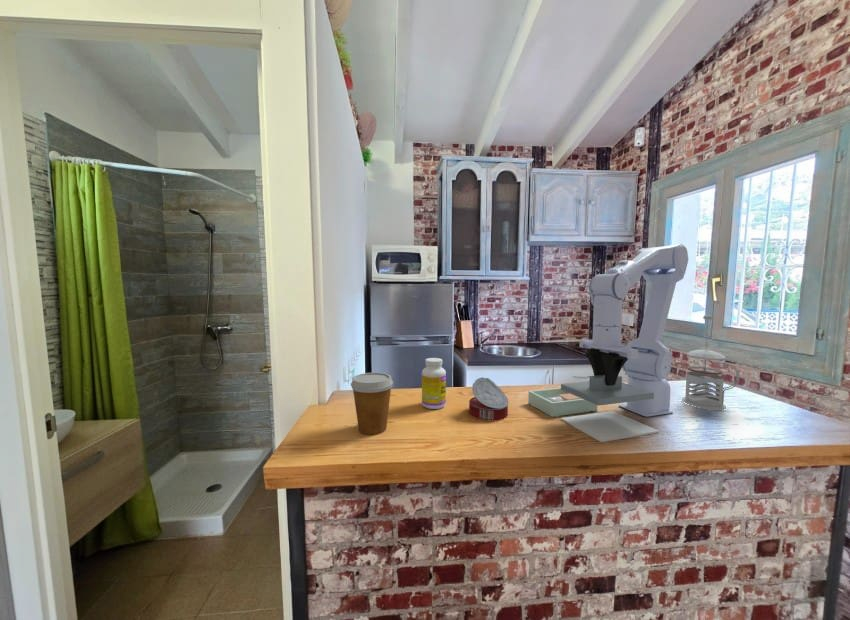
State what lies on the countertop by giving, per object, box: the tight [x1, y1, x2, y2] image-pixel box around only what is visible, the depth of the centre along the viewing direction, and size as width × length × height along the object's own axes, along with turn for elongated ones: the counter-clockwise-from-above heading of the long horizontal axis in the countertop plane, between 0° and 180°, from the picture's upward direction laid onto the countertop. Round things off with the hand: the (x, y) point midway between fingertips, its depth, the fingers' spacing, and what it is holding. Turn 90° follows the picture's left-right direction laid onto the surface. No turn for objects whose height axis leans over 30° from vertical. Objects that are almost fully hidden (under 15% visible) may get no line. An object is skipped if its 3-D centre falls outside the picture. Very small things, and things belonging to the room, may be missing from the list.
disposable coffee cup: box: [350, 372, 394, 436], centre depth 71 cm, size 10×10×12 cm
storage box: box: [527, 387, 598, 418], centre depth 85 cm, size 14×10×4 cm
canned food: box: [468, 377, 509, 422], centre depth 81 cm, size 11×10×10 cm
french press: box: [681, 314, 740, 411], centre depth 86 cm, size 10×12×25 cm
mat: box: [560, 410, 660, 443], centre depth 73 cm, size 16×12×1 cm
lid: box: [560, 375, 654, 407], centre depth 73 cm, size 15×11×4 cm
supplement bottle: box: [421, 357, 447, 410], centre depth 86 cm, size 7×7×13 cm
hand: (605, 383), depth 73 cm, fingers closed on lid, 2 cm apart
